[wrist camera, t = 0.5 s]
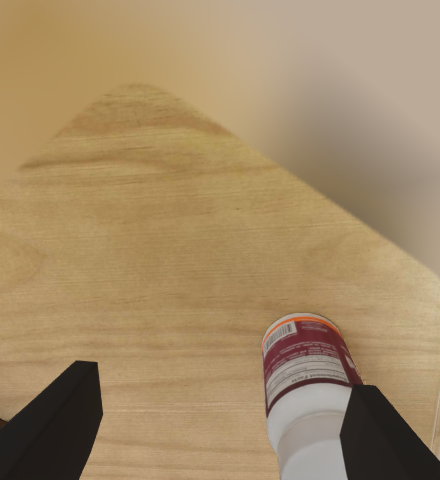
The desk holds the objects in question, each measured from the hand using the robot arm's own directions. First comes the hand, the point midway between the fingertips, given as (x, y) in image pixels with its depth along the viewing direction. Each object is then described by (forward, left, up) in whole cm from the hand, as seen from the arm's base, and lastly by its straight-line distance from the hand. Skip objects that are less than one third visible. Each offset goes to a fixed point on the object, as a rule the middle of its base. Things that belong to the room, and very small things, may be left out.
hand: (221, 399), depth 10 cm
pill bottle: (-3, -6, -10) cm, 12 cm away
